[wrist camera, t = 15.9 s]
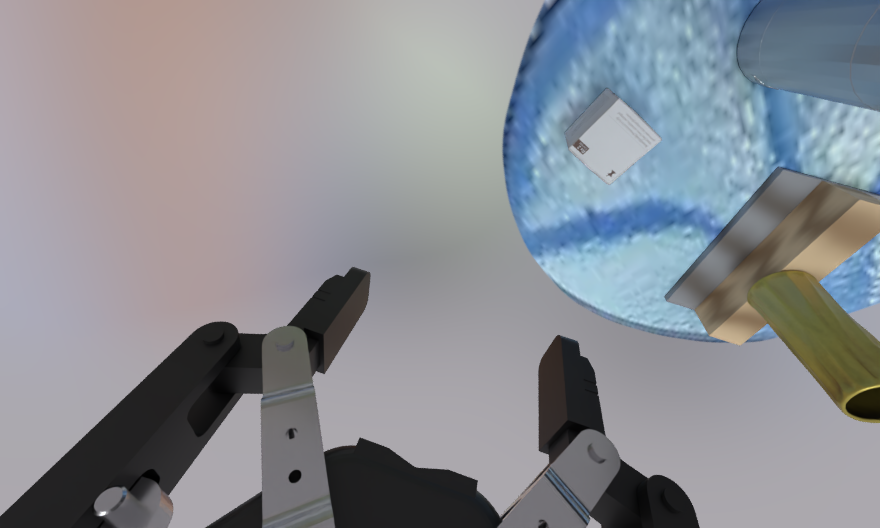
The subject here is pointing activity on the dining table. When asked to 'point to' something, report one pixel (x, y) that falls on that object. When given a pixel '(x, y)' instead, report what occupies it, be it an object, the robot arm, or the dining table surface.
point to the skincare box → (610, 137)
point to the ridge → (775, 247)
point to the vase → (823, 340)
